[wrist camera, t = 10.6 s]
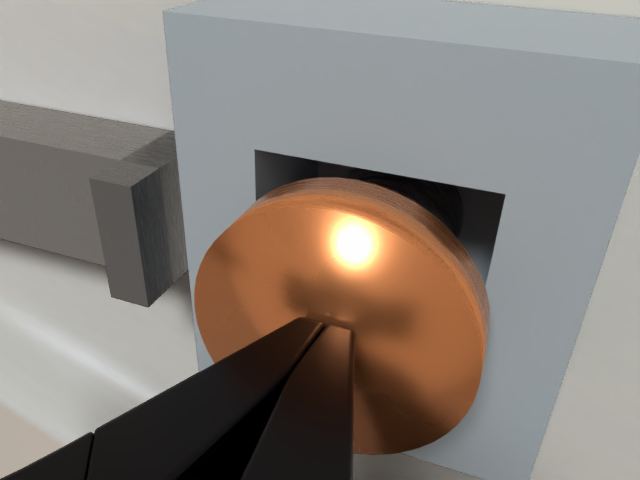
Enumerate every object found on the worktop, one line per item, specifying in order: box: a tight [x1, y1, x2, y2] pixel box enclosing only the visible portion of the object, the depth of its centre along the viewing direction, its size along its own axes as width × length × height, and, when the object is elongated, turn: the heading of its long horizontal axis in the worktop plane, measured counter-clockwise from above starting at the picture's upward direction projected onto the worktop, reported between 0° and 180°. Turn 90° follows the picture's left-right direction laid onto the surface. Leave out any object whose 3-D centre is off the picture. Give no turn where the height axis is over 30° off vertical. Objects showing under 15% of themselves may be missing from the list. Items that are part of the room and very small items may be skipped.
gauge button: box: [194, 167, 490, 455], centre depth 10 cm, size 4×4×4 cm
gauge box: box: [163, 0, 640, 480], centre depth 11 cm, size 8×7×4 cm
